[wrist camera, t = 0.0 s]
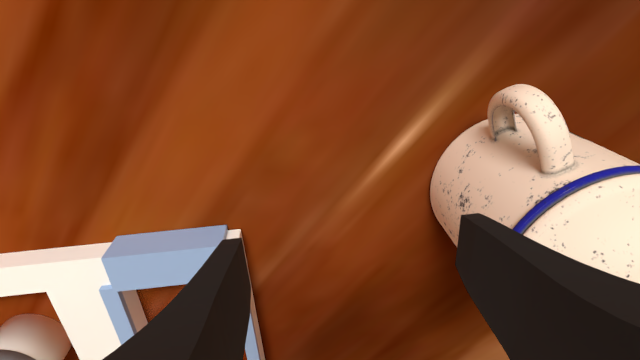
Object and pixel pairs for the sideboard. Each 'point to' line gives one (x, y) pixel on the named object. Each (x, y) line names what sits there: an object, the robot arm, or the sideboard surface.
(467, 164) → the teacup with lid
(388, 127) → the sideboard surface
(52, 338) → the banded white cylinder
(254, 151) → the sideboard surface
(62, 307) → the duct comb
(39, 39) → the sideboard surface
